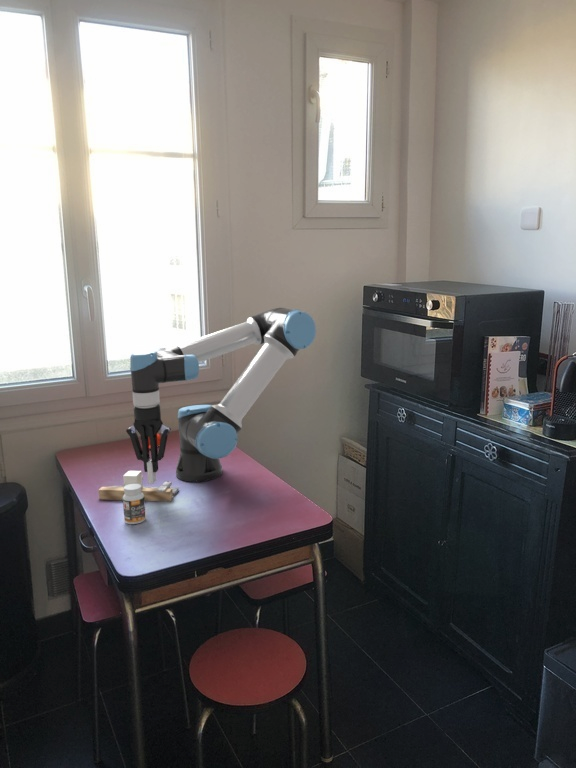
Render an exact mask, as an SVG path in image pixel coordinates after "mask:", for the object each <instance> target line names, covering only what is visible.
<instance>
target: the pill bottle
mask: <svg viewBox="0 0 576 768" xmlns="http://www.w3.org/2000/svg"><path fill="white" fill-rule="evenodd" d="M141 490H142V487H141V485H140V484H129V485H126V486H125V487H124V492H125V494H124V496H123V500H122V505H123V507H122V508H123V517H124V522H125V523H126V524H128V525H137V524H141V523H143V522H144V521H145V520H146V516H147V515H146V514H147V513H146V505H145V503H146V501H145V499H144V494H143V493H142V492H141Z"/></svg>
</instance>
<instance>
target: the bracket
mask: <svg viewBox="0 0 576 768" xmlns="http://www.w3.org/2000/svg"><path fill="white" fill-rule="evenodd" d="M148 440H149V437H148ZM160 440H161V435H160V434H159V432H158V433H157V446H158V445H160ZM150 448H151V447H150V440H149V449H150Z"/></svg>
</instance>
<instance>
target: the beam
mask: <svg viewBox="0 0 576 768" xmlns="http://www.w3.org/2000/svg"><path fill="white" fill-rule="evenodd" d="M158 489H159V488H142V490H141V492H142V493H143V494H144V499H145V502H147V501H148V502H171V501H172V500H173V499H174V496H173V494H172V489H166V491H165V492H158V491H157V490H158ZM124 494H125V492H124V487H110V486H101V487H100V488H99V489H98V498H99V499H98V500H112V501H113V500H117V501H123V496H124Z"/></svg>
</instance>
